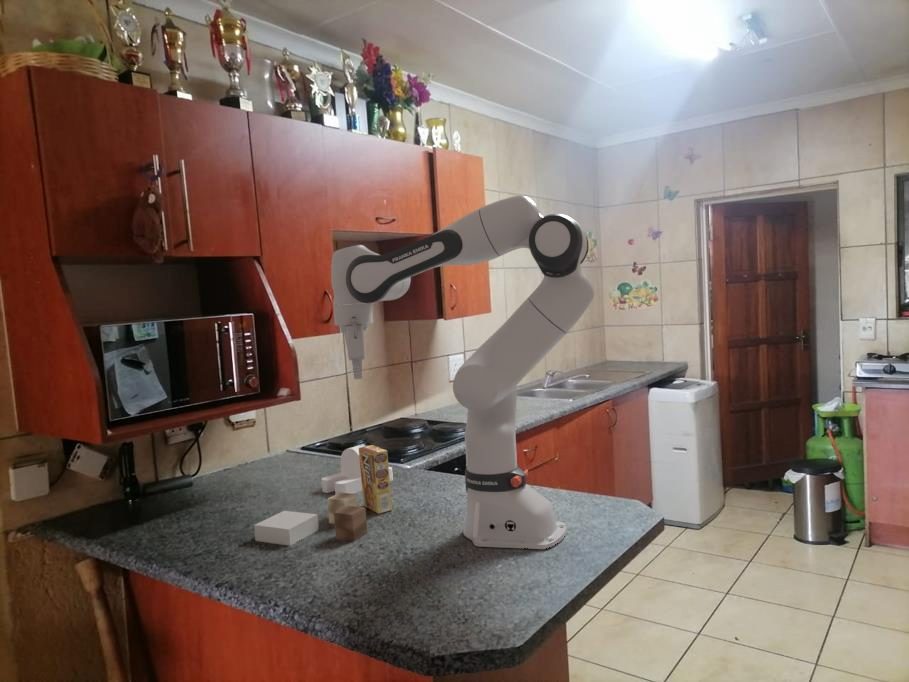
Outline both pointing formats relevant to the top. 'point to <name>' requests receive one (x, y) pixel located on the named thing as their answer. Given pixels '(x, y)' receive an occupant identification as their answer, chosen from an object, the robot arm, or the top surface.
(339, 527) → the walnut block
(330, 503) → the beech block
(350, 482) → the bracket
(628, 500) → the top surface
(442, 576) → the top surface
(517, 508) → the robot arm
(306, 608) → the top surface
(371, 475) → the candy box
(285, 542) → the stone slab
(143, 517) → the top surface
